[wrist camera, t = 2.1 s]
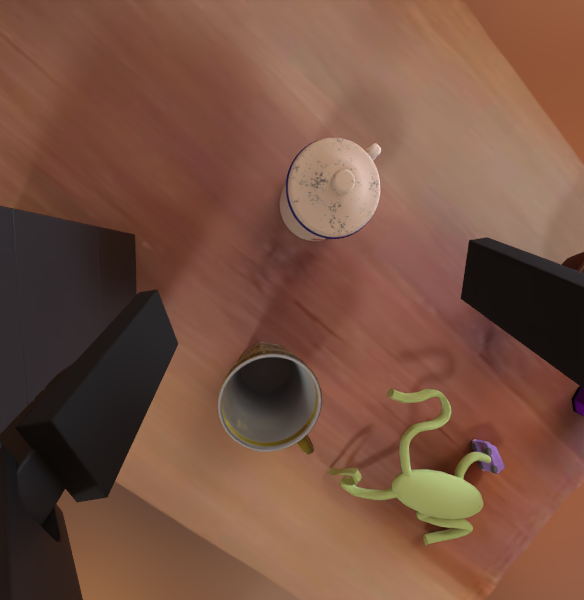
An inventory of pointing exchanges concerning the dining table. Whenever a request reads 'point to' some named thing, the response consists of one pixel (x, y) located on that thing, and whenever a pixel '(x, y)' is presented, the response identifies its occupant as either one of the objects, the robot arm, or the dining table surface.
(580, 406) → the potion bottle
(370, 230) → the dining table surface
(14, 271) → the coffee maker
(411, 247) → the dining table surface
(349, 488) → the figurine
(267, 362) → the ceramic cup
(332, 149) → the teacup with lid
